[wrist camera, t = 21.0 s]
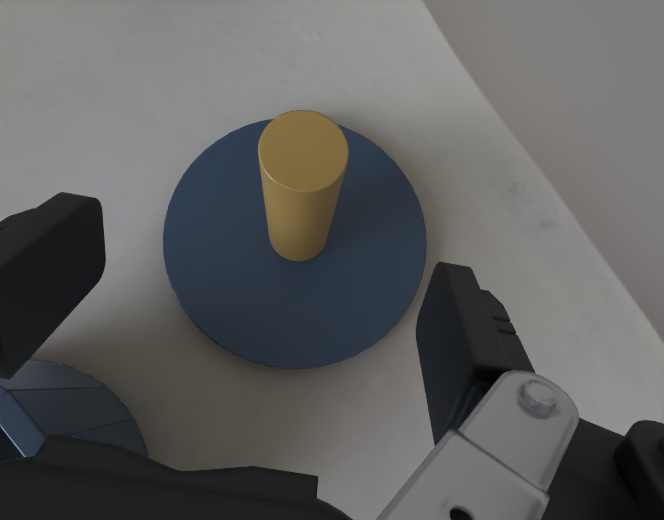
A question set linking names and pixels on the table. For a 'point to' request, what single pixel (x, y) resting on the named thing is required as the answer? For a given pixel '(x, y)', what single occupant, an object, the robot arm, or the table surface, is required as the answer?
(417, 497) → the robot arm
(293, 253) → the lid
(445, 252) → the table surface
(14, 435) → the tin
